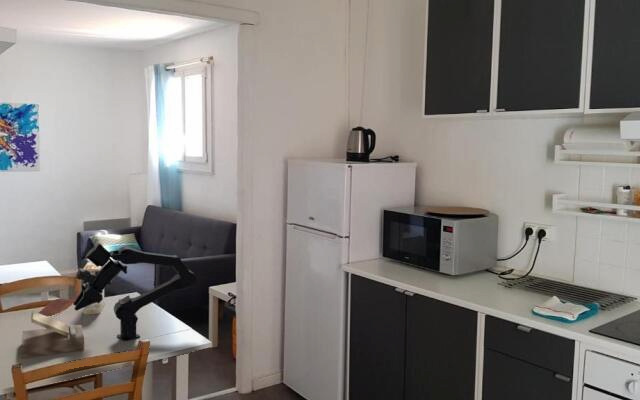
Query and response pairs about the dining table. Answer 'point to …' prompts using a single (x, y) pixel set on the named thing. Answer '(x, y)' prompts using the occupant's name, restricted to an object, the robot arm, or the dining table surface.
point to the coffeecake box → (97, 307)
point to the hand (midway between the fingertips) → (74, 307)
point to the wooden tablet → (56, 306)
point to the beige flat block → (51, 341)
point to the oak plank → (49, 323)
